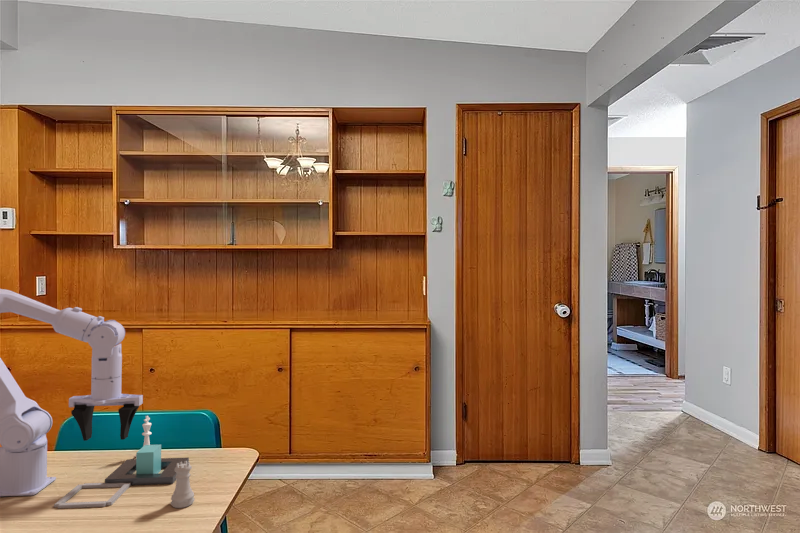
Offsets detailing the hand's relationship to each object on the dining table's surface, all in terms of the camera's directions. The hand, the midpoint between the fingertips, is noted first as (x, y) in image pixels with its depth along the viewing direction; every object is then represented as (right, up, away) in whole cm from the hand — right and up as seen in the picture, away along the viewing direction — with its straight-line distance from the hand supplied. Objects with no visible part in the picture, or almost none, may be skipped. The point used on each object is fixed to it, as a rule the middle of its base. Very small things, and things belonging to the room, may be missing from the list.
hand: (105, 438), depth 108 cm
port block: (+8, -10, +4) cm, 13 cm away
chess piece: (+1, -10, +15) cm, 18 cm away
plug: (+8, -10, +4) cm, 13 cm away
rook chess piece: (+21, -10, -10) cm, 25 cm away
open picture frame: (+2, -9, -7) cm, 12 cm away
